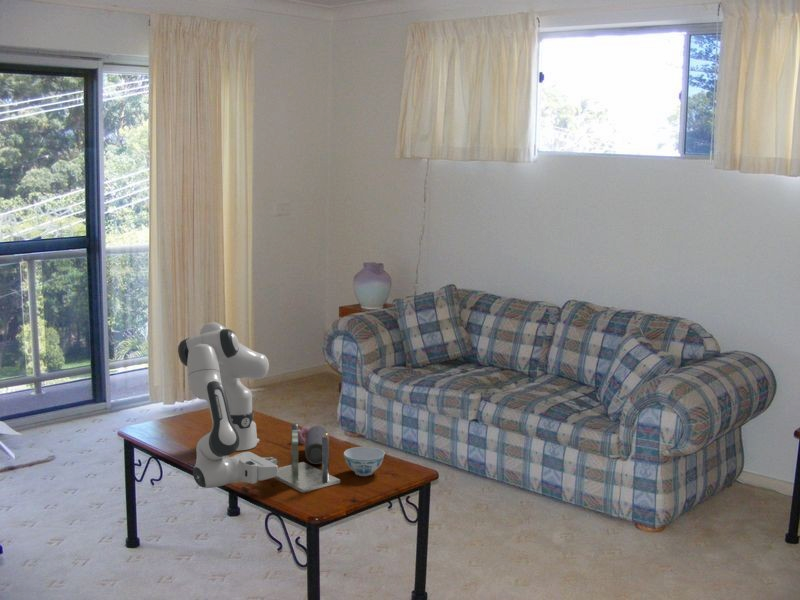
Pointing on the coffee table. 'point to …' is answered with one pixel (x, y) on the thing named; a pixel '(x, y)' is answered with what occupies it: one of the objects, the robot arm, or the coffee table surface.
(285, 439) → the coffee table surface
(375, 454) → the chinaware
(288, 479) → the gate frame
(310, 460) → the bluetooth speaker
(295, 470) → the gate
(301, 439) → the video game controller
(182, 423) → the coffee table surface
